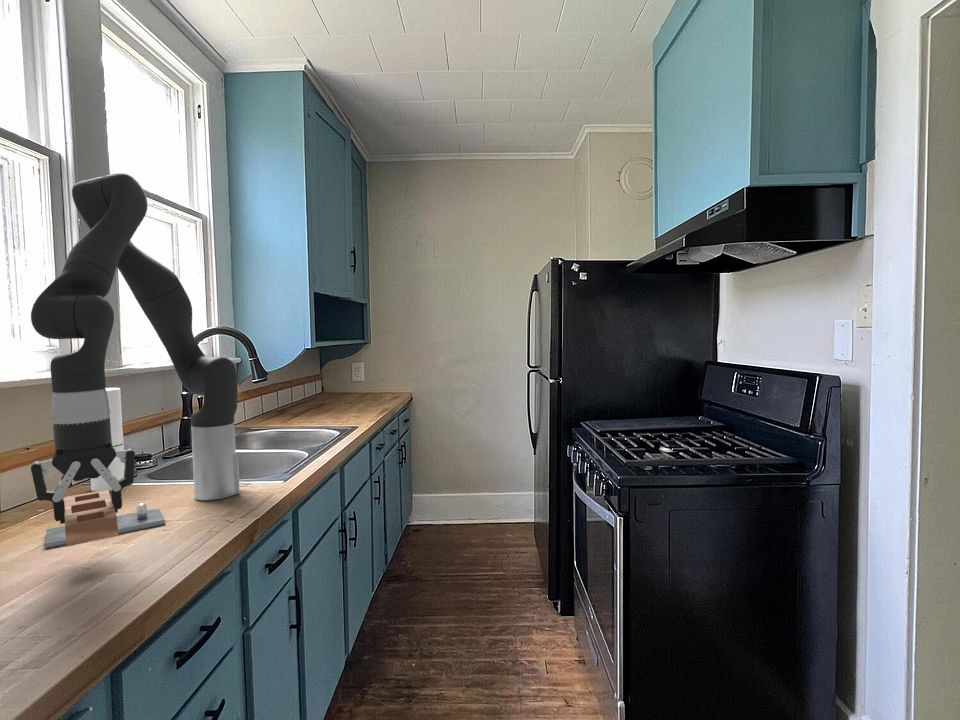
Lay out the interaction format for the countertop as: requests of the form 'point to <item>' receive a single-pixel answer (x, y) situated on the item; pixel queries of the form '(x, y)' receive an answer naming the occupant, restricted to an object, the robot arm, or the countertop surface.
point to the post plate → (124, 524)
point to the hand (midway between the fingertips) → (89, 516)
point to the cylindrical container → (113, 440)
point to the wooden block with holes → (89, 517)
